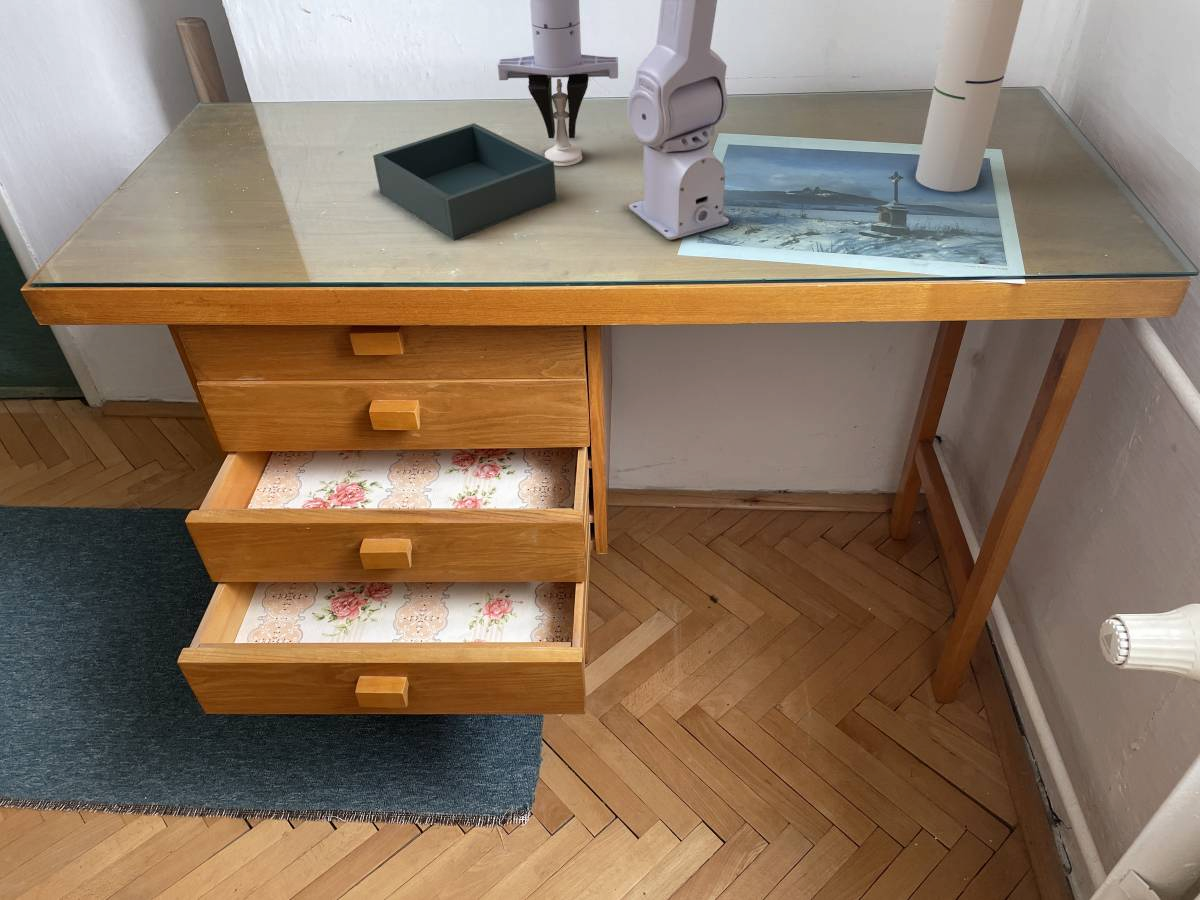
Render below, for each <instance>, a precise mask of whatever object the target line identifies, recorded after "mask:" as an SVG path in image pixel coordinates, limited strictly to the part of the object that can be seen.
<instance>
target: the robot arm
mask: <svg viewBox="0 0 1200 900" xmlns="http://www.w3.org/2000/svg"><path fill="white" fill-rule="evenodd" d="M717 5H718V0H660V7H659V8H660V9H659V17H658V26H657V27H658V28H657V34H656V35H657V36H656V44H655V46H654V47H653V49H652V50H651V51H650V53H648V55H647V56H646V57H645V58H644V59H643V61H641V63H640V65H639V66H638V67H637V69H636V74H635V75H636V76H635V82H634V85H633V88H632V89H631V91H630V93H629V94H628V95H629V96H628V98H627V103H626V104H627V105H626V106H627V107H626V111H627V112H626V115H627V121H628V124H629V126H630V129H631V131H632V133H633V134H634V136H635V137H636V138H637V141H638V142H639V143H641V144H643V200H639V201H635V202H632V203H629V205H628V209H629V210H630V211H632V212H633V213H634V214H635V215H637V216H638V217H639V218H640V219H642V220H643V221H645V223H647V224H648V225H649V226H650V227H652V228H653V229H654V230H655V231H657V232H658V233H660V234H661V235H662V236H663V237H665V238H666V239H667V240H668V241H669V240H670V241H674V240H676V239H681V238H684V237H687V236H689V235H693V234H697V233H700V232H704V231H708V230H711V229H714V228H718V227H723V226H725V225H728V224H729V222H730V219H729V218H728V217H727V216H725V215H724V203H725V201H724V200H725V189H726V188H725V186H726V171H725V168H724V165H723V163H722V162H721V161H720V160H719V159H718V157H716V155H715V154H714V152H713V150H712V147H711V137H713V136H715V134H716V133H715V132H716V125H718V124H719V123H720V122H721V121H722V120H723V119H724V117H725V115H726V112H727V108H728V93H727V86H726V74H727V69H728V68H727V66H728V65H727V64H726V63H725V61H724V60H723V59H722V58H721V57H720V55H719V54H717V52H715V51H714V50H713V49H712V48H711V45H712V39H713V33H714V32H713V31H714V27H715V18H716V12H717ZM529 7H530V19H531V21H530V22H531V32H532V47H533V55H527V56H521V57H512V58H499V60H498V62H497V72H498V81H508V80H509V79H528V86H527V89H528V92H529V93H530V95H531V96H532V99H533V100H534V102H535V104H536V106H537V107H538V110H539V111H540V114H541V116H542V119H543V122H544V125H545V128H546V131H547V138H548V139H555V135H556V123H555V118H553V113H554V108H553V100H552V95H553V91H552V78H553V79H554V78H555V79H556V78H567V83H566V92H567V93H566V94H567V95H568V100H567V104H568V113H569V117H568V130H567V132H568V139H575V137H576V124H577V119H578V114H579V112H580V108H581V105H582V102H583V99H584V98H585V95H586V92H587V90H588V85H589V79H590V78H599V77H600V78H608V79H614V80H615V79H618V78H619V57H618V56H601V55H591V54H582V40H581V39H582V37H581V14H580V0H529Z"/></svg>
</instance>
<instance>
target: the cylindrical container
mask: <svg viewBox="0 0 1200 900" xmlns="http://www.w3.org/2000/svg"><path fill="white" fill-rule="evenodd" d="M1024 1H1025V0H951V2H950V3H951V4H950V8H949V13H948V18H947V23H946V26H945V33H944V37H943V42H942V47H941V52H940V55H939V61H938V64H937V65H938V67H937V70H936V75H935V80H934V86H933V91H932V95H931V99H930V105H929V110H928V114H927V119H926V122H925V128H924V134H923V137H922V143H921V148H920V151H919V152H920V153H919V157H918V163H917V167H916V172H915V180H916V181H917V183H919V184H920V185H922V186H924V187H926V188H929V189H932V190H935V191H941V192H947V193H948V192H950V193H957V192H965V191H969V190H971V189H973V188H974V187H976V186H977V184H978V181H979V177H980V173H981V169H982V165H983V162H984V157H985V154H986V149H987V145H988V142H989V138H990V134H991V130H992V125H993V122H994V118H995V115H996V112H997V111H996V110H997V107H998V103H999V102H998V101H999V99H1000V94H1001V90H1002V87H1003V83H1004V78H1005V74H1006V71H1007V67H1008V63H1009V60H1010V56H1011V52H1012V47H1013V43H1014V40H1015V36H1016V32H1017V28H1018V24H1019V21H1020V16H1021V13H1022V8H1023V4H1024Z"/></svg>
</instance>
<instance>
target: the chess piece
mask: <svg viewBox="0 0 1200 900" xmlns="http://www.w3.org/2000/svg"><path fill="white" fill-rule="evenodd" d="M562 87H563V82H562V78H557V79H556V91H557V92H555V93H552V103H553V105H554V107H555V110H556V111H553V118H554V120H557V121H556V123H557V124H556V139H555V144H554V145H553V147H550V148H549V149H546V151H545V152H544V157H545V158H547V159H549V160H551V161H553V162H554V167H555V166H557V167H568V166H573V165H576V164H578V163H580V162H581V161H582V160H583V155H582V150H581V149H580V148H578V147H576V146H574V145H572V144H571V143H570V141H569V134H568V130H567V124H566V119H569V111H566V107H567V104H568V95H567V93H566V92H562Z"/></svg>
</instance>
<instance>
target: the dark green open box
mask: <svg viewBox="0 0 1200 900" xmlns="http://www.w3.org/2000/svg"><path fill="white" fill-rule="evenodd" d="M372 157H373V158H372V159H373V164H374V169H375V174H376V178H377V183H378V188H379V189H378V190H379V193H380V195H382V196H384V197H386V198H387V199H389V200H390V201H392V202H393V203H395V204H397V205H398V206H400V207H401V208H403V209H404V210H405V211H407V212H409V213H411V214H412V215H413V216H415V217H417V218H419V219H420V220H422V221H423V222H425V223H426V224H428V225H430V227H432V228H434V229H436V230H437V231H439V232H440V233H442V234H443V235H445V236H446V237H448V238H449V239H452V240H453V241H456V240H458V239H460V238H463V237H466V236H468V235H471V234H474V233H476V232H478V231H481V230H484V229H486V228H489V227H491V226H494V225H496V224H499V223H501V222H505V221H507V220H509V219H512V218H514V217H518V216H521V215H522V214H525V213H527V212H530V211H533V210H535V209H538V208H540V207H543V206H545V205H549V204H551V203H553V202H557V192H556V189H557V188H556V176H555V175H556V174H555V165H554V162H553V161H551V160H549V159H547V158H545V156H543V155H541V154H538V153H537V152H535V151H532V150H531V149H528V148H526V147H524V146H522V145H520V144H519V143H516V142H514V141H512V140H510V139H507V138H506V137H504V136H503V135H499V134H498V133H496V132H494V131H491V130H489V129H487V128H485V127H483V126H481V125H479V124H477V123H474V122H473V123H470V124H467V125H464V126H461V127H458V128H453V129H451V130H448V131H445V132H441V133H439V134H436V135H432V136H428V137H426V138H423V139H420V140H416V141H413V142H410V143H407V144H404V145H401V146H398V147H395V148H391V149H389V150H385V151H383V152H379V153H376V154H373V155H372Z"/></svg>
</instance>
